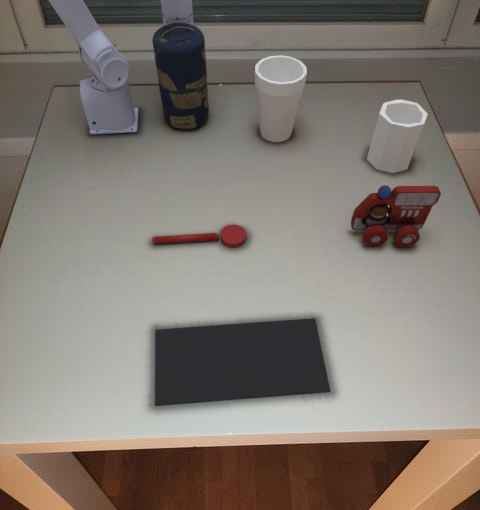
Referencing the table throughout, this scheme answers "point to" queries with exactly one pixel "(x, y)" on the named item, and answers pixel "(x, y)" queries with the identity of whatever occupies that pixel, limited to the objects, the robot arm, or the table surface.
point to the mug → (396, 135)
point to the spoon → (209, 237)
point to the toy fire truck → (394, 214)
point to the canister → (182, 74)
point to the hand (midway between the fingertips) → (184, 82)
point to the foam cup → (278, 95)
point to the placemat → (238, 361)
